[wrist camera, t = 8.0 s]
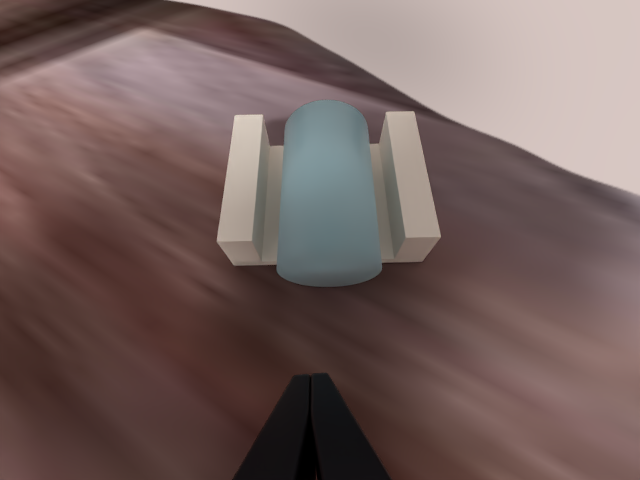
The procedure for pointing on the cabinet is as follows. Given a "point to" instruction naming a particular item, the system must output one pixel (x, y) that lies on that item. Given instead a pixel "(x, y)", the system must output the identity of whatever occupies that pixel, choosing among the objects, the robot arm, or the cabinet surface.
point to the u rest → (265, 193)
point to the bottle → (327, 198)
